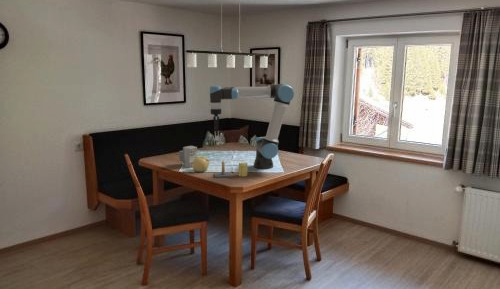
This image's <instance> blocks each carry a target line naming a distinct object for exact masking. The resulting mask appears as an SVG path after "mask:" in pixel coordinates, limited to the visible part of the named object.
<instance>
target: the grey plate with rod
mask: <svg viewBox="0 0 500 289" xmlns="http://www.w3.org/2000/svg"><path fill="white" fill-rule="evenodd" d="M225 163H226V162H225V161H221V171H214V178H215V179H220V178H221V179H222V178H223V179H224V178H225V179H226V178H230V179H231V178H233V172H232V171H225V168H226V167H225V166H226V165H225Z"/></svg>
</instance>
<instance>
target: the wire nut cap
mask: <svg viewBox="0 0 500 289" xmlns="http://www.w3.org/2000/svg"><path fill="white" fill-rule="evenodd" d="M238 176H239V177H247V176H248V163H247V162H238Z"/></svg>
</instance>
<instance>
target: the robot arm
mask: <svg viewBox="0 0 500 289" xmlns="http://www.w3.org/2000/svg"><path fill="white" fill-rule="evenodd" d="M294 97H295V91H294V88H293V87H292V86H290V85H289V84H286V83H284V84H283V83H278V84H277V83H276V84H268V85H267V86H232V87H230V86H229V87H228V86H225V87H223V88H221V86H220V85H211V86H210V87H209V106H210V115H213V123H214V129H213V132H214V141H216V142H217V141H220V134H219V133H220V132H219V131H220V129H219V128H220V125H219V123H220V116H219V115H222V100H223V101H224V100H237V99H238V98H267V99H273V103H274V106H273V109H272V112H271V113H272V114H271V117H270V120H269V124H268V127H267V131H266V135H265V136H260V137H256V138H255V159H254V162H253V167H254V168H255V169H260V170H261V169H262V170H266V169H268V170H269V169H272V168H274V161H273V159H274V158H275V157H276V156H277V155H278V152H279V147H278V146H279V143H280V142H279V139H278V138H279V136H280V131H281V127H282V125H283V121H284V118H285V114H286V109H287V107H289V106H290V104H291V101H292V100H293V99H294Z"/></svg>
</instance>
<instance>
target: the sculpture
mask: <svg viewBox="0 0 500 289" xmlns="http://www.w3.org/2000/svg"><path fill="white" fill-rule="evenodd" d="M209 166H210V159H209V158H207V157H205V156H197V157H196V158H195V160H194V161H193V164H192V167H193V168H192V169H193V170H194V172H196V173H197V172H200V173H201V172H206V171H207V170H208V168H209Z"/></svg>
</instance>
